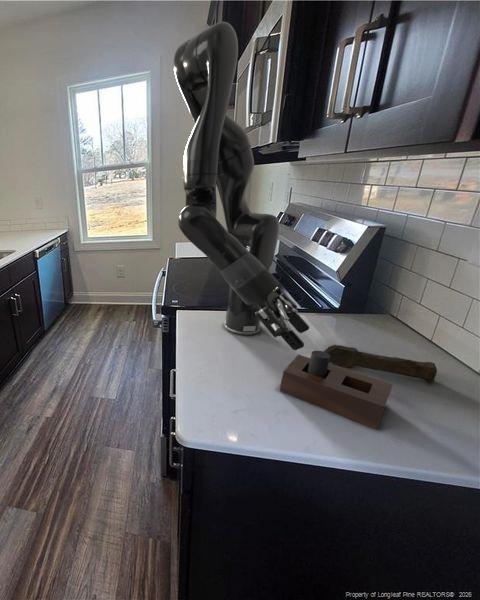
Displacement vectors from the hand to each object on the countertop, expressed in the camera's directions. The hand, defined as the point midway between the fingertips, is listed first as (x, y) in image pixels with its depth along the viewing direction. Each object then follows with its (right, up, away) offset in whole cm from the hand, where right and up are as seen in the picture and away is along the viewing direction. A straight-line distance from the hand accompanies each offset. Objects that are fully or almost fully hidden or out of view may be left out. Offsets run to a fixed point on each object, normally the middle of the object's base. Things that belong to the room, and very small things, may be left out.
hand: (302, 338), depth 65 cm
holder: (+5, -12, 0) cm, 13 cm away
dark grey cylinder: (+3, -11, +2) cm, 12 cm away
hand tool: (+21, -8, +7) cm, 23 cm away
